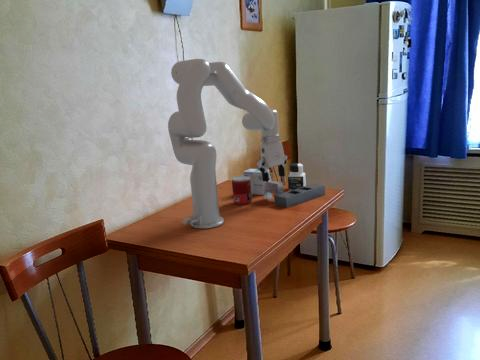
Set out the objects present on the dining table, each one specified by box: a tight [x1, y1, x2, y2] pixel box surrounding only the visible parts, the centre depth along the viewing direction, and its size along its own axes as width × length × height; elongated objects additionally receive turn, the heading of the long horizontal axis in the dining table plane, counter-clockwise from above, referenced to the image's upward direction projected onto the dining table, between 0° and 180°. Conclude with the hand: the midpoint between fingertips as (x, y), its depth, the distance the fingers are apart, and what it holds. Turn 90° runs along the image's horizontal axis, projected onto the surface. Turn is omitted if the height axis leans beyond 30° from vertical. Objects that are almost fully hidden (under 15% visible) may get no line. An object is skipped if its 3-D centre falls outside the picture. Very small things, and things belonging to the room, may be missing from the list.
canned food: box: [231, 175, 253, 206], centre depth 188 cm, size 8×8×11 cm
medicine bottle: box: [287, 162, 307, 191], centre depth 203 cm, size 7×7×12 cm
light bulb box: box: [242, 168, 271, 196], centre depth 202 cm, size 11×7×11 cm, turn 58°
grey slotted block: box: [273, 183, 326, 209], centre depth 187 cm, size 24×7×4 cm, turn 130°
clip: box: [263, 179, 284, 201], centre depth 189 cm, size 9×3×8 cm, turn 40°
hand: (273, 178), depth 188 cm, fingers open, 9 cm apart
